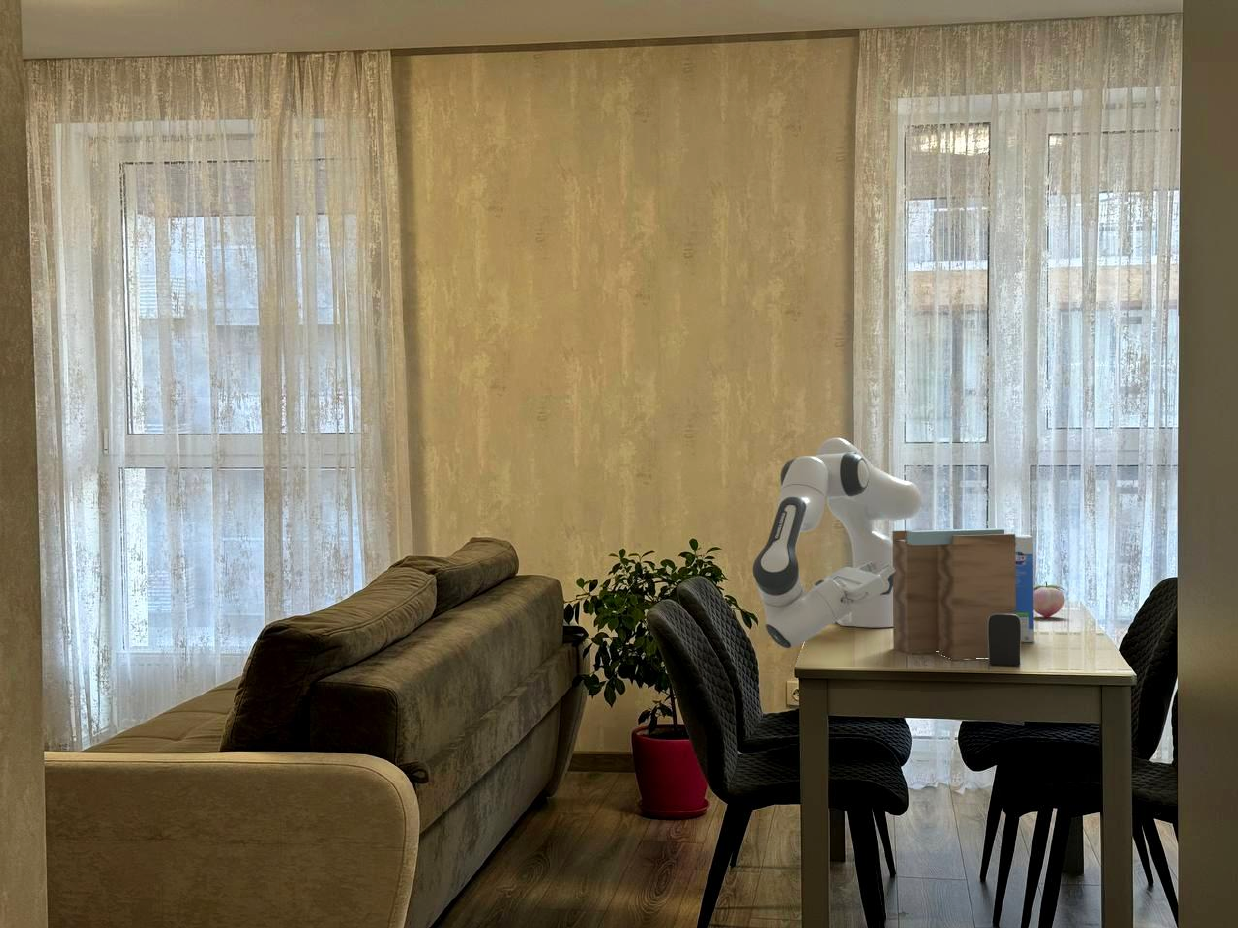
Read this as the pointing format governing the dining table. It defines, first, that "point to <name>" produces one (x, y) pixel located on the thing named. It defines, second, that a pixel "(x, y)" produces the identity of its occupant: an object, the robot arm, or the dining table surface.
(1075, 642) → the dining table surface
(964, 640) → the right post
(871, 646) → the dining table surface
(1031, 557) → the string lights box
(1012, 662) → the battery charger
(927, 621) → the left post
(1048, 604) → the decorative fruit
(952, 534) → the batten
